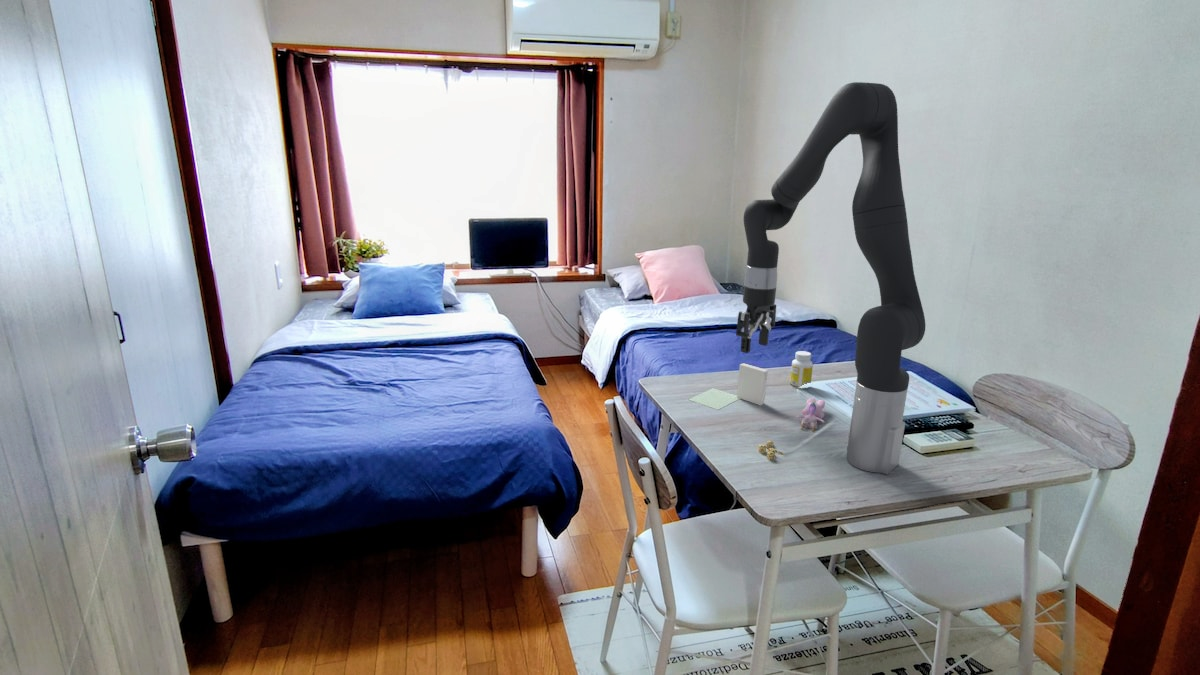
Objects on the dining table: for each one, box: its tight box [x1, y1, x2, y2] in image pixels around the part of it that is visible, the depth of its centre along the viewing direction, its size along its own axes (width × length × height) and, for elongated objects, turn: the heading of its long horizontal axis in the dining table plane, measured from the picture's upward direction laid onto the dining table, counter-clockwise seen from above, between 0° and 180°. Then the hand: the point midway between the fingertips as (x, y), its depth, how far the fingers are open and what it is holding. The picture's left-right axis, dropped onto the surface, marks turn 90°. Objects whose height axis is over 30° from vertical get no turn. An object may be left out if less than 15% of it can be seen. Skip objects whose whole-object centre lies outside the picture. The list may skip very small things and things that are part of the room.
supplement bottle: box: [789, 350, 814, 390], centre depth 162 cm, size 5×5×10 cm
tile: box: [736, 363, 769, 406], centre depth 151 cm, size 7×2×9 cm, turn 46°
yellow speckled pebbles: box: [758, 440, 785, 461], centre depth 127 cm, size 5×5×2 cm
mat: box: [688, 387, 741, 411], centre depth 153 cm, size 18×16×1 cm
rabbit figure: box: [796, 397, 826, 434], centre depth 142 cm, size 6×6×15 cm
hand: (754, 348), depth 149 cm, fingers open, 8 cm apart
